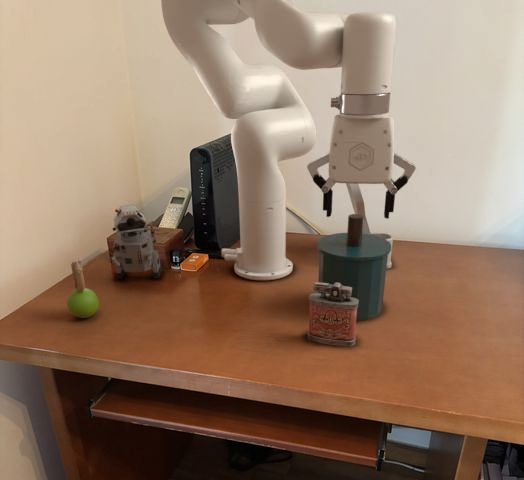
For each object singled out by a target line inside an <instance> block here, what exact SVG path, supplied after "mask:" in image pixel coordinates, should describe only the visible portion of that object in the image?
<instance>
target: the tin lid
mask: <svg viewBox="0 0 524 480" xmlns="http://www.w3.org/2000/svg"><path fill="white" fill-rule="evenodd" d="M363 221H364V216H363V215H360V214H355V213H351V214H349V215H348V217H347V229H346V230H347V231H346V232H339V233H332V234H329V235H326V236H323V237H321V238H320V239H318V241H317V243H316V244H317V245H316V248H317V250H318V251H319V253H320V252H321V253H323V254H324V255H327V256H329V257H332V258H336V259H342V260H350V261H365V260H373V259H378V258H381V257H384V256H386V255H388V254H389V253H390V251H391V244H390V243H389V242H388V241H387V240H386V239H384V238H381V237H378V236H375V235H371V234H365V233H363Z"/></svg>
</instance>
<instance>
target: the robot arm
mask: <svg viewBox="0 0 524 480" xmlns="http://www.w3.org/2000/svg"><path fill="white" fill-rule="evenodd" d="M160 2H161V13H162V18H163V22H164V25H165V28H166V30H167V33H168V35H169V37H170V39H171V41H172V43H173V44H174V46H175V48H176V49H177V50H178V51H179V52H180V54H181V55H182V57H184V59H185V60H186V61H187V63H188V64H189V65H190V66H191V68H192V69H193V70H194V72H195V74H196V75H197V78H198V79H199V81H200V83H201V85H202V86H203V88H204V89H205V91H206V93H207V94H208V97H209V98H210V99H211V100H212V102H213V104H214V106H215V107H216V109H217V110H218V112H219V113H220V114H221V115H222V116H223V117H225V118H226V119H230V120H235V121H234V123H233V126H232V128H231V133H230V141H231V147H232V152H233V157H234V162H235V167H236V175H237V191H238V211H239V212H238V213H239V216H238V217H239V237H240V238H239V239H240V247H236V249H235V248H234V249H232V248H221V258H224V259H223V260H224V261H227V262H230V261H231V262H232V261H233V262H235V263H234V265H233V271H234V272H235V274H236V275H238V276H239V277H240V278H243V279H247V280H252V281H271V280H272V281H273V280H279V279H282V278H285V277H287V276H288V275H290V274H291V273H292V272H293V270H294V269H293V266H294V263H293V262H292V261H291V260H290V259H288V258H287V257H286V256H287V255H286V252H287V250H286V249H287V248H286V245H287V243H286V242H287V240H286V239H287V236H286V235H287V233H286V232H287V186H286V181H285V178H284V176H283V174H282V172H281V170H280V168H279V165H278V163H279V162H282V161H287V160H292V159H295V158H300V157H303V156H305V155H307V154H308V153H310V152H311V151H312V150H313V148H314V146H315V144H316V140H317V128H316V124H315V121H314V118H313V116H312V113H311V112H310V111H309V109H308V107H307V106H306V103H304V100H303V99H302V98H301V96H300V95H299V93H298V92H297V90H296V88H295V86H294V85H293V83H292V82H291V80H290V79H289V78H288V76H287V74H286V73H285V72H284V71H283V70H282V69H280V67H278V66H276V65H274V64H271V63H247V62H244V61H242V60H241V58H240V57H239V56H238V55H237V54H236V52H235V50H234V48H233V47H232V45H231V44H230V42H229V41H228V40H227V39H226V38H225V37H224V36H223V35H222V34H221V33H219V32H218V31H216V30H215V29H214V28H212V27H211V26H212V25H215V26H216V25H217V26H218V25H219V26H221V25H236V24H241V23H243V22H245V21H247V20H248V19H252V20H253V21H254V28H255V31H256V34H257V37H258V40H259V42H260V43H261V45H262V46H263V47H264V49H266V50H267V51H268V52H269V53H270V54H271V55H273V56H274V57H275V58H276V59H278V60H279V61H281V62H282V63H283V64H285V65H286V66H289V67H291V68H292V69H295V70H296V69H297V70H300V71H307V70H318V69H337V68H341V77H340V95H338V96H335V97H331V98H330V108H335V109H337V110H338V111H339V114H336V115H335V116H334V118H333V124H332V127H331V134H330V142H329V152H327V153H325V154H324V155H322V156H320V157H318V158H316V159H314V160H312V161H310V162H308V163H307V166H306V168H307V171H308V172H309V174H310V176H311V178H312V181H313V182H314V184H315V185H317V187H318V188H319V189H320V190H321V192H322V193H323V194H322V195H323V196H322V211H323V212H324V211H326V215H325V216H326V218H331V216H332V214H333V213H332V212H333V192H334V190H333V189H332V188H333V187H334V186H335V184H336V183H337V184H346V183H352V184H358V185H361V184H362V185H381V184H383V185H384V187H385V188H386V189H387V190H386V191H385V199H384V210H383V217H384V218H385V219H390V213H394V210H395V200H396V194H397V193H398V192H399V191H400V190H401V189H402V188H403V187H405V185H407V184H408V182H409V180H410V179H411V177H412V176H413V174H414V172H415V171H416V165H415V164H414V163H413V162H412V161H409V160H407V159H406V158H404V157H402V156H401V155H399V154H397V153H395V138H396V137H395V135H396V134H395V119H394V116H393V114H390V104H391V91H392V82H393V81H392V79H393V70H394V69H393V68H394V57H395V56H394V55H395V46H396V45H395V44H396V33H397V19H396V17H395V15H394V14H393V13H391V12H389V11H362V12H361V11H360V12H355V13H349V12H318V11H317V12H316V11H314V12H313V11H312V12H309V11H308V12H305V11H302V10H300V9H298V8H297V7H295V6H294V3H295V0H161V1H160ZM327 164H328V178H327V179H325V178H324V177H323V176H322V175H321V174H320V171H319V168H321V167H323V166H325V165H327ZM394 165H396V166H398V167H400V168H401V169H403V172H402V174H401V175H400V176H399V177H398V178H397V179H395V180H394V179H393V177H392V176H393V172H394Z"/></svg>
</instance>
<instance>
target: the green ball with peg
mask: <svg viewBox="0 0 524 480" xmlns="http://www.w3.org/2000/svg"><path fill="white" fill-rule="evenodd" d="M81 263H82V260H81V259H78V260H73V261H72V262H71V264H70V267H71V271H72V275H73V277H74V287H75V289H73V290H72V291H71V292H70V293H69V295H68V296H67V298H66V299H67V300H66V305H67V309H68V311H69V312H70V314H72V315H73V316H74V317H76V318H79V319H87V318H91V317H93V316H94V315H95V314H96V313H97V312H98V309H99V305H100V301H99V300H100V299H99V298H98V295H97V294H96V293H95V292H94V291H93V290H92V289H90V288H86V281H85V277H84V272H83V271H84V269H83V267H82V265H81Z"/></svg>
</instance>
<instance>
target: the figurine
mask: <svg viewBox="0 0 524 480" xmlns="http://www.w3.org/2000/svg"><path fill="white" fill-rule="evenodd" d="M114 212H115V213H116V215H115V216H114V218H113V224H114V227H112V229H111V230H112V231H113V232H117V234H116V236H115V239H114V241H113V243H112V244H113V245H112V249H113V251H114V252H113V253H112V254H113V255H112V257H111V261H112V264H114V266H115V278H116V279H117V280H122V279H123V278H124V276H125V274H126V273H145V272H148V271H149V270H152V279H160V276H161V274H162V270H163V269H162V265H161V261H160V254H159V250H155V249H154V248H155V247H154V243H155V244H156V243H157V237H156V231H155V227H154V226H152V225H151V224H148V222H147V219H146V217H145V215H144V213H142V212H141V211H140V210H139V209H138V208H137V207H136V206H135V205H134V204H127V205H126V204H125V205H120V206H119V207H118V208H115V209H114ZM148 227H149V229H147V228H148Z"/></svg>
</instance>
